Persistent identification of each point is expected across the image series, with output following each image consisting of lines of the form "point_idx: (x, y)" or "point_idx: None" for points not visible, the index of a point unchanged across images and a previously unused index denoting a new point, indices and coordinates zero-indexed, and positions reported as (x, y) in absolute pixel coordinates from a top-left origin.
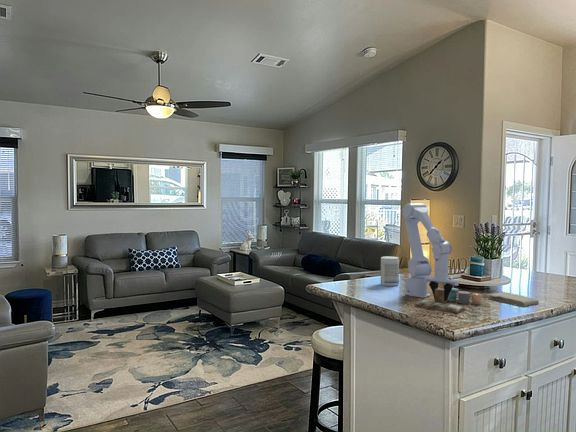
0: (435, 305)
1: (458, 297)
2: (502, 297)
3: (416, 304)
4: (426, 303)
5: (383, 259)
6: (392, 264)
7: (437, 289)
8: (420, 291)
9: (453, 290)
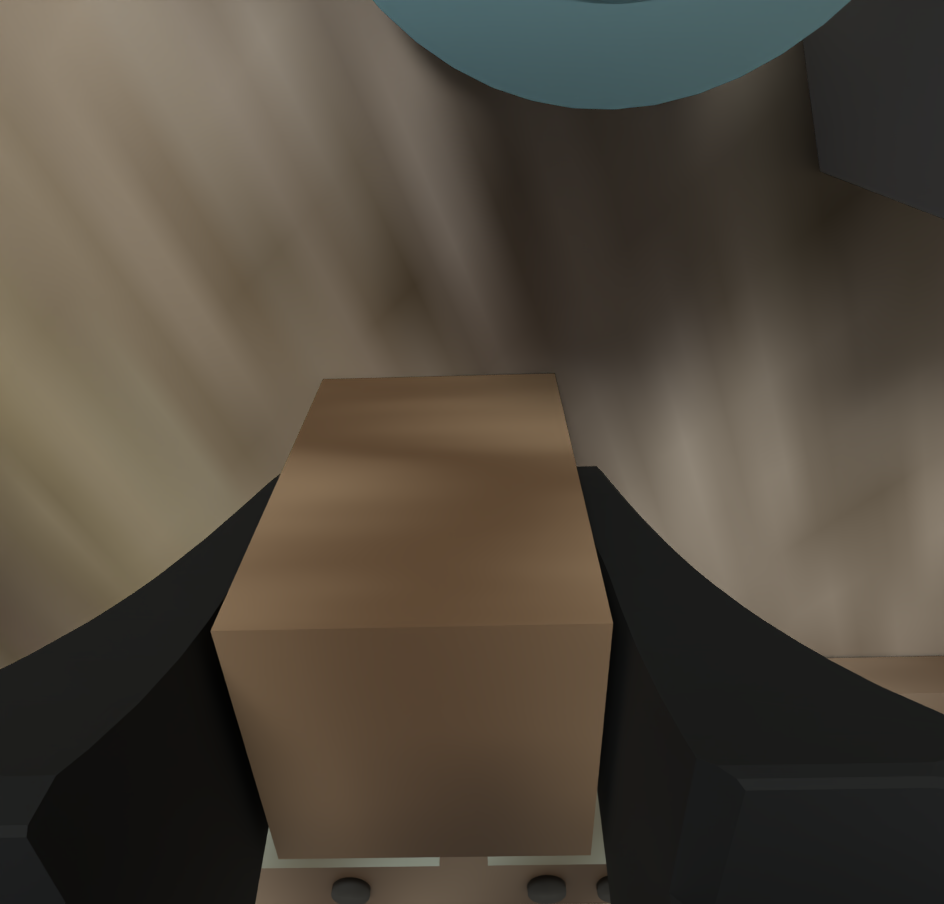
0: (540, 856)
1: (908, 204)
2: None
3: (268, 897)
4: (381, 865)
5: None
6: None
7: (345, 829)
8: None
9: (764, 61)
